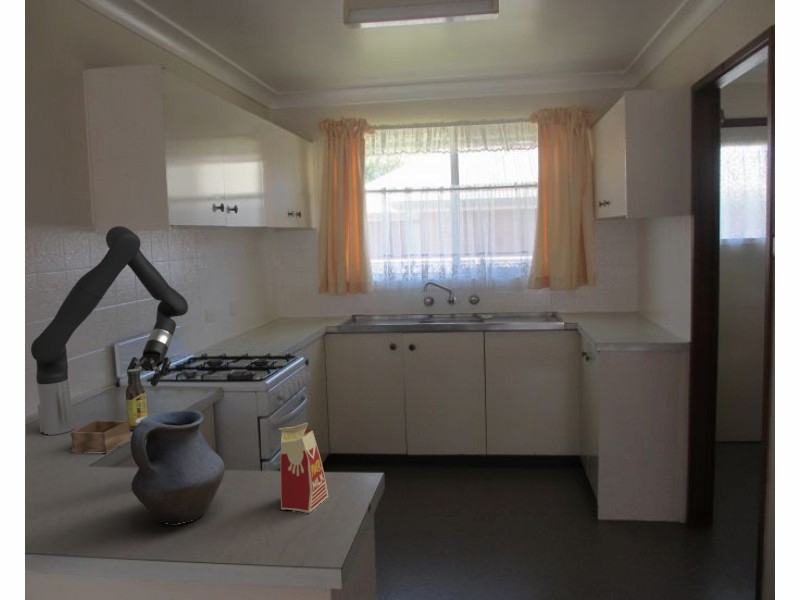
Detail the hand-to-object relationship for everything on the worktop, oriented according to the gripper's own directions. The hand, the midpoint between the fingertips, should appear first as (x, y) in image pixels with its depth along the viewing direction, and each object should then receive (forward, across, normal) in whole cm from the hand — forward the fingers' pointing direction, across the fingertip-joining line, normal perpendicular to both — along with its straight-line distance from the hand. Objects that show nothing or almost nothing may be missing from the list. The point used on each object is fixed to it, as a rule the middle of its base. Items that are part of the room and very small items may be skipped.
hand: (141, 385), depth 220 cm
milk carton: (+47, +77, -27) cm, 94 cm away
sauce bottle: (+13, 0, +7) cm, 14 cm away
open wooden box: (+24, -1, -5) cm, 25 cm away
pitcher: (+54, +51, -34) cm, 81 cm away
